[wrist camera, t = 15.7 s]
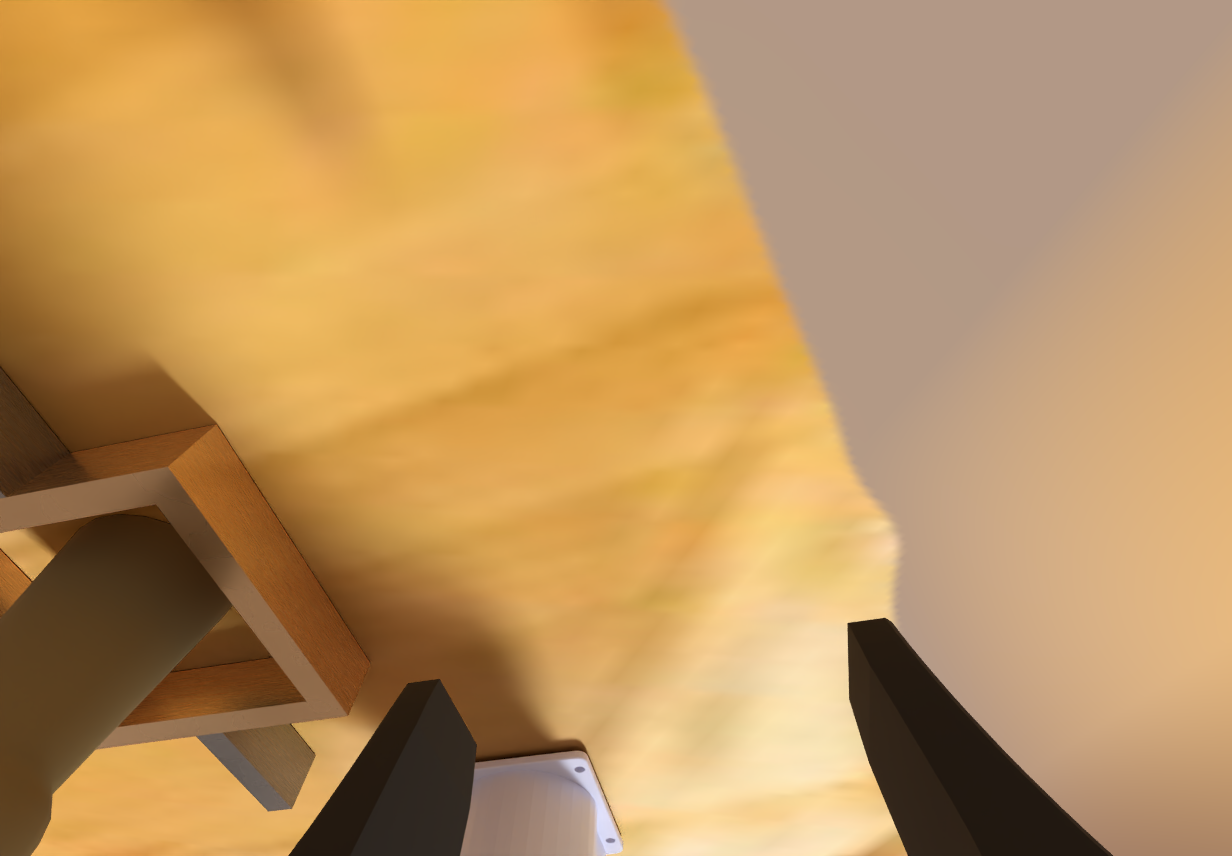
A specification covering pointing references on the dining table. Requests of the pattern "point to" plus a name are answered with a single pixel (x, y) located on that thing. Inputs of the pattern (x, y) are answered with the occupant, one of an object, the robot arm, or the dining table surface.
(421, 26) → the dining table surface
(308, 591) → the square frame
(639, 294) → the dining table surface
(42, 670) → the cork
